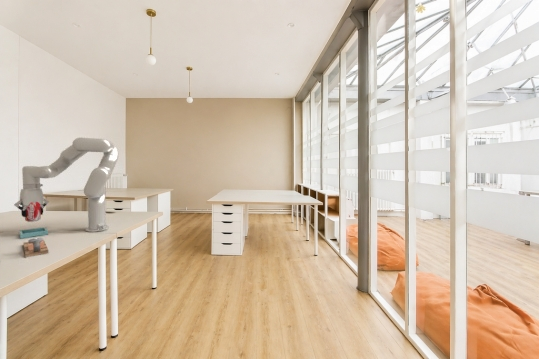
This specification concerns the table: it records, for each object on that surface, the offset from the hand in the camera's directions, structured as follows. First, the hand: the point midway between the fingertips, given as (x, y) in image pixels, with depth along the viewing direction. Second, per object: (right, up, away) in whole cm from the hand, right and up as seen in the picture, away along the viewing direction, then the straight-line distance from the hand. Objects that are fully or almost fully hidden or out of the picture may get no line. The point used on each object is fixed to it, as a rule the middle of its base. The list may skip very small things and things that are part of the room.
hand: (32, 215), depth 152 cm
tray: (0, -12, +1) cm, 12 cm away
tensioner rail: (+24, -14, -24) cm, 37 cm away
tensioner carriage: (+27, -12, -27) cm, 40 cm away
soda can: (0, -4, 0) cm, 4 cm away
